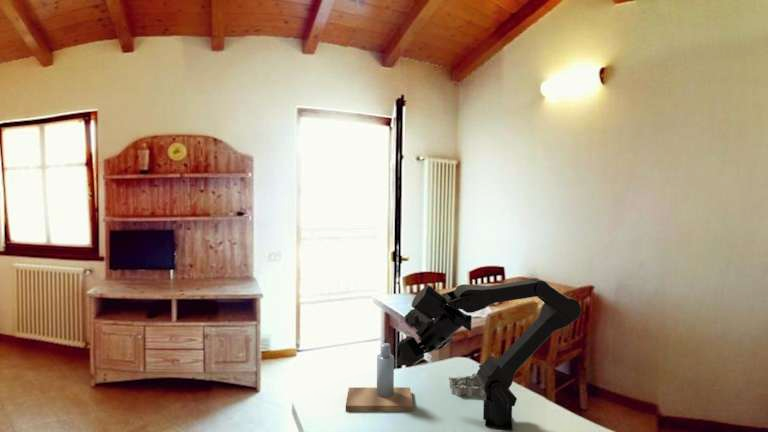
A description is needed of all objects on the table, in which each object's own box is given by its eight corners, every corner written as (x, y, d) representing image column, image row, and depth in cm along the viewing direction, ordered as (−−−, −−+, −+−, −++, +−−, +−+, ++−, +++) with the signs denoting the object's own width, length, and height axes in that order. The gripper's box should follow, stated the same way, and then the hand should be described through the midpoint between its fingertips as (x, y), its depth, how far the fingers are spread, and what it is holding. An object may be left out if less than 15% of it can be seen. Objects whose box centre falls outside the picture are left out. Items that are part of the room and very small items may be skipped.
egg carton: (483, 386, 119) (483, 372, 119) (488, 398, 111) (488, 384, 111) (448, 384, 120) (448, 371, 119) (450, 396, 112) (451, 383, 112)
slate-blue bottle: (395, 390, 112) (395, 342, 112) (391, 398, 108) (391, 348, 107) (379, 388, 113) (379, 340, 113) (374, 396, 109) (375, 346, 108)
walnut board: (410, 392, 114) (410, 387, 114) (412, 411, 104) (412, 405, 104) (348, 392, 114) (348, 387, 114) (345, 411, 104) (345, 405, 104)
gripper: (442, 293, 109) (409, 325, 116) (403, 308, 94) (369, 343, 101) (467, 327, 104) (432, 357, 112) (431, 348, 90) (393, 381, 97)
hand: (407, 358), depth 105 cm, fingers open, 9 cm apart
